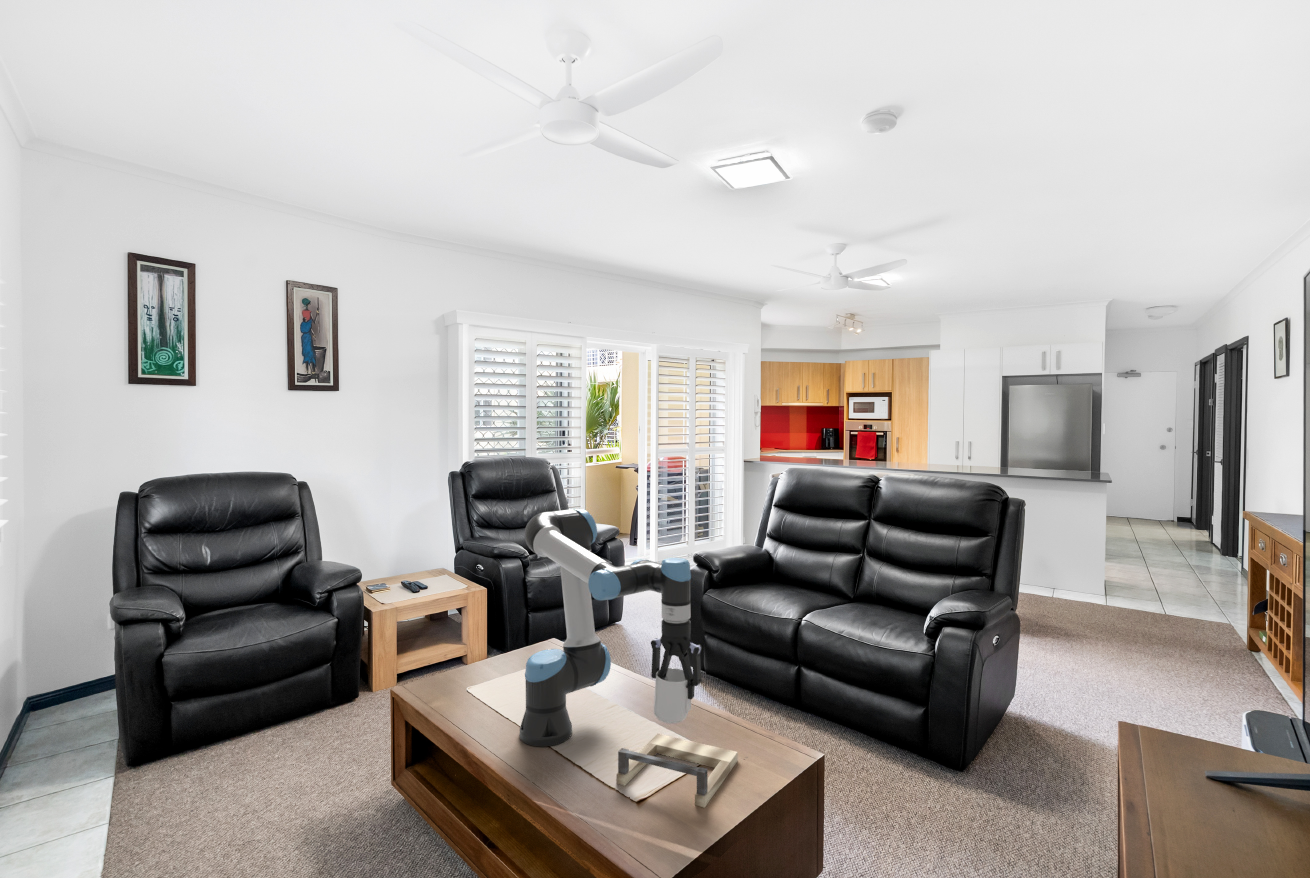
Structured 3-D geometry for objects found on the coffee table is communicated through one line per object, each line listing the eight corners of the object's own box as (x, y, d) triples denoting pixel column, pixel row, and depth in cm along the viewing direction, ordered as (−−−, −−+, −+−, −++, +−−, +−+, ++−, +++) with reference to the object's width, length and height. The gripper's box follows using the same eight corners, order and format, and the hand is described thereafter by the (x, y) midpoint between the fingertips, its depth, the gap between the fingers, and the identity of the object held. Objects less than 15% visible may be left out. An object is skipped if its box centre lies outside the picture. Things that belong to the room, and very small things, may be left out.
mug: (667, 728, 161) (670, 685, 160) (646, 713, 168) (649, 672, 167) (703, 717, 168) (706, 675, 168) (681, 703, 175) (684, 663, 175)
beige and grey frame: (616, 783, 163) (616, 752, 163) (657, 742, 185) (657, 714, 185) (704, 807, 153) (704, 774, 153) (737, 761, 174) (737, 731, 174)
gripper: (637, 618, 167) (637, 707, 168) (704, 628, 159) (704, 721, 159) (649, 611, 174) (650, 696, 174) (715, 619, 166) (715, 709, 166)
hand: (676, 708), depth 167 cm, fingers closed on mug, 6 cm apart
